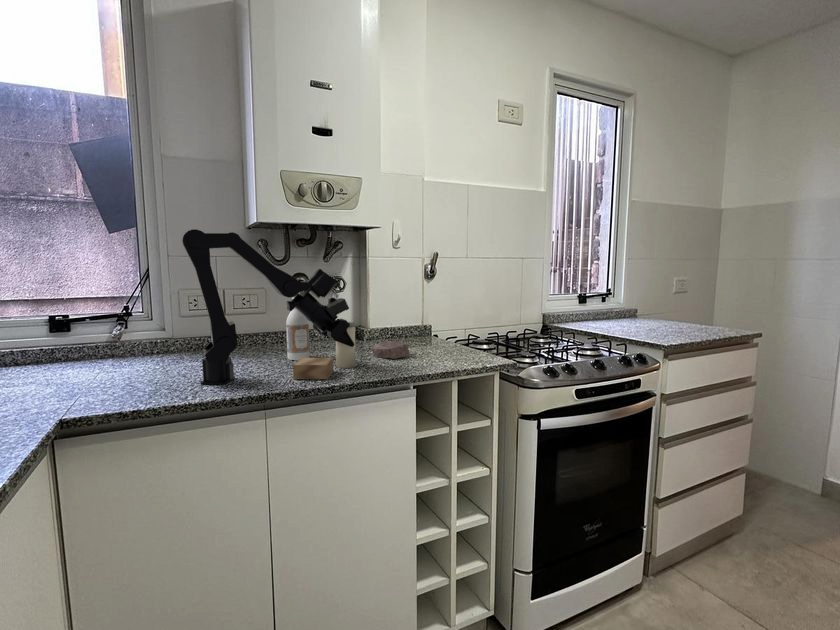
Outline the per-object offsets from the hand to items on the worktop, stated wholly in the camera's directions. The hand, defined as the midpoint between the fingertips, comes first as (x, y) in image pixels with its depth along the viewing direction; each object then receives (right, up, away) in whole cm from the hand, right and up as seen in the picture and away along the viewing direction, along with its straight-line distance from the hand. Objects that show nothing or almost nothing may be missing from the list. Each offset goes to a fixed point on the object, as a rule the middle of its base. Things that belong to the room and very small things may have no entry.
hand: (349, 344), depth 132 cm
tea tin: (-1, -7, 0) cm, 7 cm away
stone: (+11, -5, +14) cm, 19 cm away
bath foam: (-18, -6, +10) cm, 22 cm away
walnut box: (-8, -8, -11) cm, 16 cm away
